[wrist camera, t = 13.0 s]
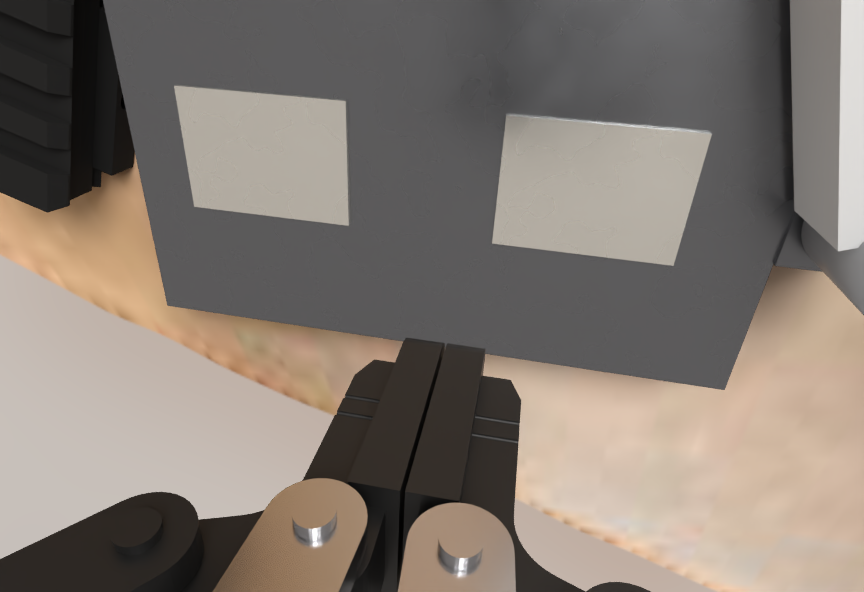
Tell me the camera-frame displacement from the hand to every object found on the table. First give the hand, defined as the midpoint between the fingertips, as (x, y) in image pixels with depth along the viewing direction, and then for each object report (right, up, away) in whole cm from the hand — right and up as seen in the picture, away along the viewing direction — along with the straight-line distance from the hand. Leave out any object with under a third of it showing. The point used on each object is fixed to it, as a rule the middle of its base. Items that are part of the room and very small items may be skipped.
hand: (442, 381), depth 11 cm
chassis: (+3, +8, +14) cm, 17 cm away
